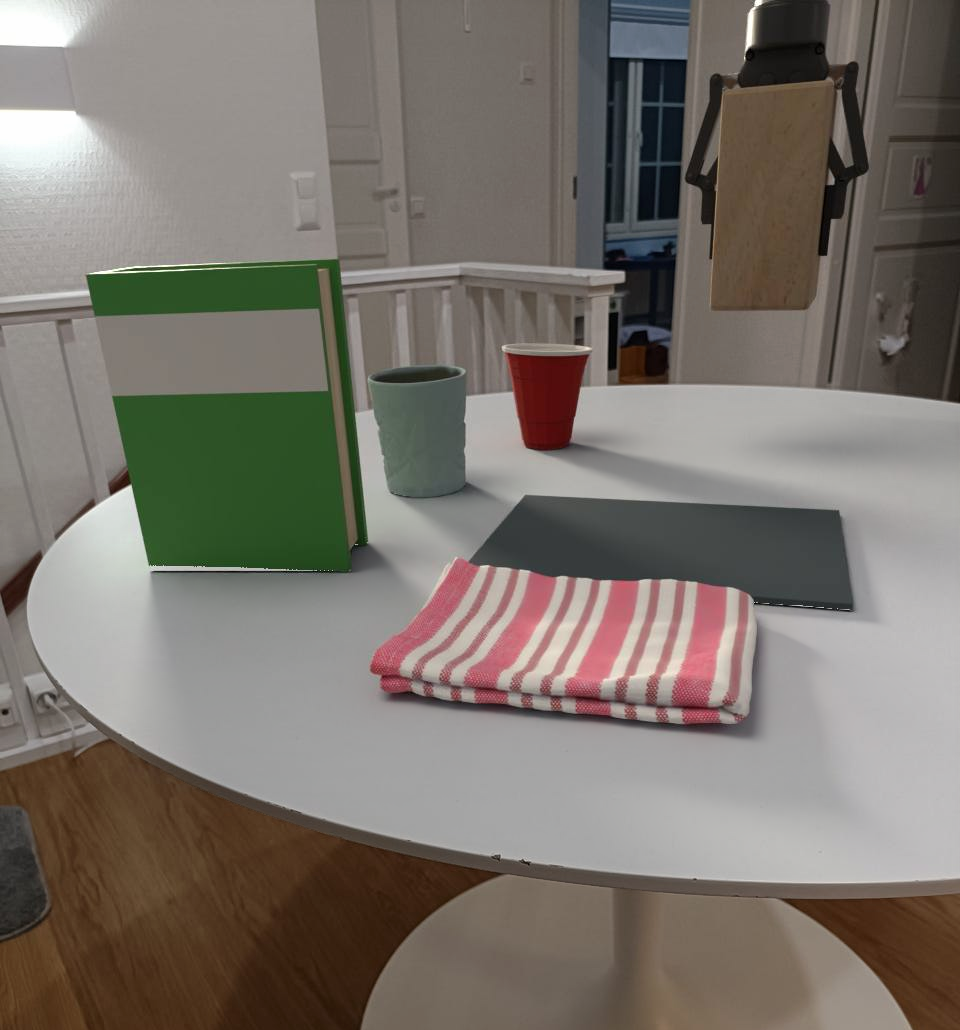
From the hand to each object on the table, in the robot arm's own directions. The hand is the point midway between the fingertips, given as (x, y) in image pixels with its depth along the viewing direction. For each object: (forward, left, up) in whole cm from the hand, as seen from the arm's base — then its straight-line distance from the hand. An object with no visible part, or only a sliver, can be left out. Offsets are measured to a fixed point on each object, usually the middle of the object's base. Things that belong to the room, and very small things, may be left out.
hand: (767, 256), depth 95 cm
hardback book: (+40, +41, -21) cm, 61 cm away
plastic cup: (+24, -2, -21) cm, 32 cm away
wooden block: (0, 0, -5) cm, 5 cm away
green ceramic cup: (+33, +18, -21) cm, 43 cm away
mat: (+6, +32, -21) cm, 39 cm away
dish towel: (+9, +54, -21) cm, 59 cm away
